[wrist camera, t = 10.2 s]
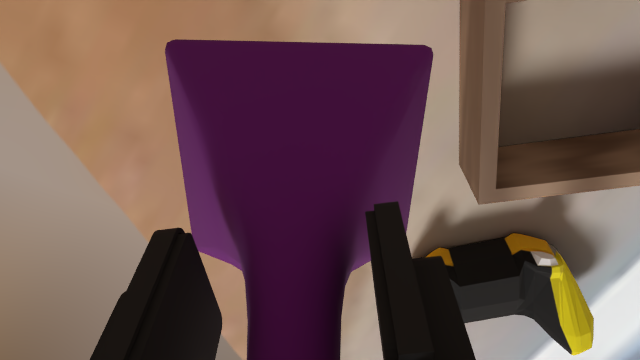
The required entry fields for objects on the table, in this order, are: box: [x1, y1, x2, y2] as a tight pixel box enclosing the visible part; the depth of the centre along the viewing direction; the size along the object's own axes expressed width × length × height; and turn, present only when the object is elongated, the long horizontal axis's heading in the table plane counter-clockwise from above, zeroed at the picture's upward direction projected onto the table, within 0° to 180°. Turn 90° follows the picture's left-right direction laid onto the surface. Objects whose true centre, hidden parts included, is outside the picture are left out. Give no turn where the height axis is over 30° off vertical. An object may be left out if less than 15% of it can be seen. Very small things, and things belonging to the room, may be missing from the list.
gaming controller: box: [426, 233, 594, 355], centre depth 38 cm, size 15×6×10 cm
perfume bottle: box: [165, 40, 433, 360], centre depth 10 cm, size 8×8×18 cm
